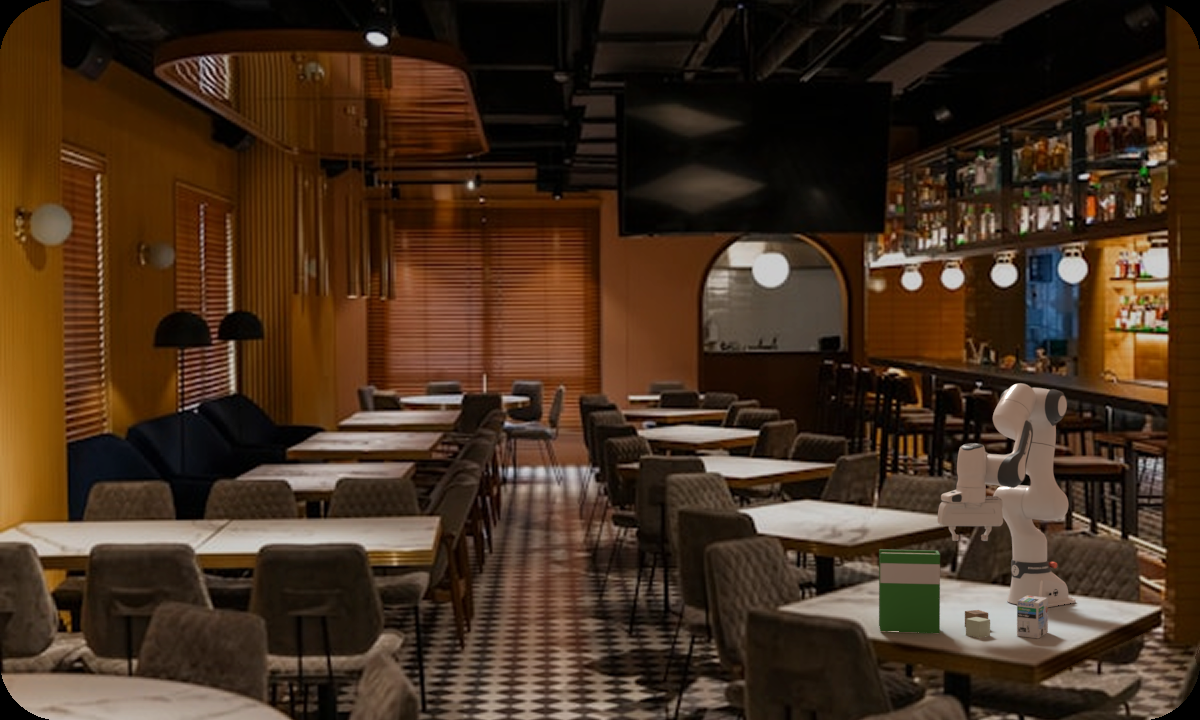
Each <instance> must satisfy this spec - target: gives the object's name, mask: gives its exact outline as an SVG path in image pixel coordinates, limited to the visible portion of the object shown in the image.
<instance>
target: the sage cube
mask: <svg viewBox="0 0 1200 720" xmlns="http://www.w3.org/2000/svg"><path fill="white" fill-rule="evenodd" d="M967 635H968V636H969V637H972V636H973V638H977V637H978V638H977V639H981V637H982V638H986V637H985V636H987V637H991V619H989V618H988V619H985V618H980V617H973V618H968V619H966V627H965V636H967Z"/></svg>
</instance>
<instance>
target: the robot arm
mask: <svg viewBox="0 0 1200 720" xmlns="http://www.w3.org/2000/svg"><path fill="white" fill-rule="evenodd" d="M1067 407H1068V400H1067V398H1066V396H1065V394H1064V392H1063V391H1061V390H1059V389H1058V390H1057V389H1054V388H1052V389H1049V388H1048V389H1047V388H1042V387H1031V386H1030V385H1028V384H1026V383H1021V382H1020V383H1015V384H1013V385H1011V386H1010V387H1009V388H1008V389H1005V390H1004V391H1003V392H1002V393H1001V394H1000V398H999V402H998V403H997V405H996V407H995V409H994V410H993V411H994V412H993V415H992V422H993V425H994V427H995V429H996V430H997V431H998V432H999V434H1001V435H1003V436H1004V437H1006V438H1009V439H1010V440H1013V441H1015V442H1014V445H1013V448H1012V452H1011V453H1007V454H997V453H988V452H987V451H986V449H985V446H984V444H981V443H976V442H974V443H973V442H971V443H965V444H963V445H960V447H959V450H958V452H957V453H958V454H957V463H956V474H957V482H956V489H954V490H951V491H948V492H944V493H942V494H941V495H940V500H941V502H940V503H939V505H938V512H937V523H938V524H939V526H942V527H948V530H949V532H950V533H951V540H952V541H954V542H957V541H959V539H960V537H959V536H960V535H959V534H956V532H955V530H956V527H984V529H985V532H984V533H983V534H981V535H980V537H981V539H980V540H981V541H983V542H988V541H989V535H990V534H991V532H992V528H993V527H1001V526H1002V525H1003V523H1004V521H1005V522H1006V524H1007V527H1008V529H1009V532H1010V536H1011V544H1012V545H1011V546H1012V548H1011V549H1012V559H1011V561H1010V571H1011V582H1010V587H1009V592H1008V597H1007V600H1006V601H1007V602H1008V603H1009V604H1010V603H1011V604H1013V605H1017V601H1018V600H1020V599H1022V598H1023V597H1025V596H1027V595H1028V596H1036V597H1045V598H1048V608H1050V607H1051V608H1053V607H1057V606H1058V605H1059V606H1063V605H1064V604H1065V605H1069V604H1070V603H1071V604H1076V603H1075V602H1076V598H1073V597H1071V596H1069V590H1068V586H1067V584H1066V582H1065V581H1064V580H1063V579H1061V578H1060V577H1058V576H1057V575H1056V574H1055V573H1054V572H1053V571H1052V569H1056V568H1057V567H1058V563H1057V562H1055V561H1049V560H1048V540H1047V537H1046V535H1045V534H1044V532H1042V531H1040V530H1039V529H1038V528H1037V527H1036V525H1035V524H1034V522H1033V520H1038V521H1046V522H1047V521H1057V520H1058V521H1059V520H1061V519H1063V518H1064V517H1065V516H1066V514H1067V513H1068V510H1069V499H1068V497H1067V495H1066V494H1065V492H1064V491H1063V490H1062V489H1061V488H1060V486H1059V485H1058V483H1057V481H1056V478H1055V475H1054V460H1055V451H1056V440H1057V429H1056V427H1057V424H1058V423H1059V422H1060V421H1062V419H1063V418H1064V417H1065V415H1066V413H1067V410H1068V409H1067ZM1026 475H1027V476H1029V479H1030V485H1023V484H1022V483H1023V482H1024V481H1025V478H1026ZM986 485H991V486H999V487H997V489H995V491H994V493H993V494H992V496H990V495H987V491H986V489H987V488H986Z"/></svg>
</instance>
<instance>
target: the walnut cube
mask: <svg viewBox="0 0 1200 720" xmlns="http://www.w3.org/2000/svg"><path fill="white" fill-rule="evenodd" d="M973 617H980V618H985V619H989V612H987V611H983V610H981V609H975V610H973V609H972V610H965V611H964V628H966V619H968V618H973Z"/></svg>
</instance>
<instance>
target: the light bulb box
mask: <svg viewBox="0 0 1200 720" xmlns="http://www.w3.org/2000/svg"><path fill="white" fill-rule="evenodd" d="M1016 609H1017V610H1016V612H1017V613H1016V636H1017V637H1023V638H1031V639H1040V638H1042V637H1043V636H1046V635H1047V634H1048V633H1049V631H1048V630H1049V628H1048V627H1049V622H1048V621H1049V619H1048V618H1049V616H1048V615H1049V607H1048V598H1045V597H1036V596H1028V595H1027V596H1025V597H1023V598H1022V599H1020V600H1018V601H1017V604H1016ZM1047 632H1048V633H1047Z"/></svg>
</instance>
